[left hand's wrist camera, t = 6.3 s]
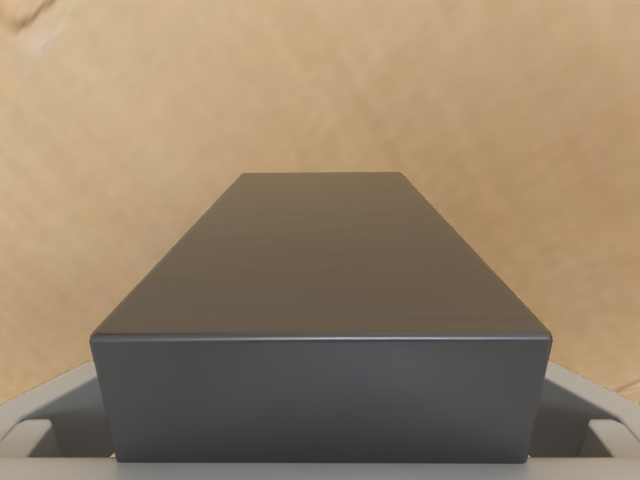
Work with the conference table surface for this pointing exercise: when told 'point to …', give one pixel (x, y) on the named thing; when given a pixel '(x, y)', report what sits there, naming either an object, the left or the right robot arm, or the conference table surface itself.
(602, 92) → the conference table surface
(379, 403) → the bar
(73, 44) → the conference table surface
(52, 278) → the conference table surface
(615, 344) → the conference table surface
